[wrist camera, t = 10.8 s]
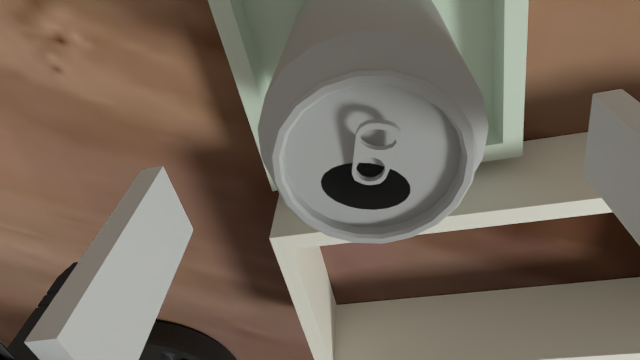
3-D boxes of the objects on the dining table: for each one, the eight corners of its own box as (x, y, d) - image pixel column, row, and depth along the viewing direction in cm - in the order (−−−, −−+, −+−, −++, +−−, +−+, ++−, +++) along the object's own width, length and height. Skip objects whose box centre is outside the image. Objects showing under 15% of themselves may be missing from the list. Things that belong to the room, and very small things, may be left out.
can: (288, 98, 25) (245, 247, 16) (300, -49, 21) (250, 31, 11) (420, 116, 26) (459, 275, 16) (459, -27, 21) (545, 71, 11)
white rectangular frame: (326, 313, 38) (322, 382, 33) (283, 176, 30) (269, 238, 25) (677, 282, 33) (733, 356, 28) (732, 110, 25) (823, 171, 20)
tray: (279, 163, 29) (272, 191, 27) (202, -81, 22) (182, -74, 19) (507, 129, 27) (522, 156, 24) (511, -161, 19) (534, -164, 17)
